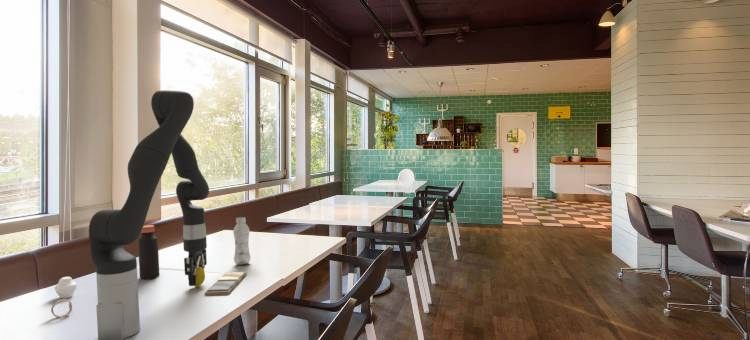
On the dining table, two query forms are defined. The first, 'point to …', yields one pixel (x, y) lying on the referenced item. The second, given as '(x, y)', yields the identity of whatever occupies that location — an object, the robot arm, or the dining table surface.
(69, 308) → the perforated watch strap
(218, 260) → the dining table surface
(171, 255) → the dining table surface
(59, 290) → the muffin
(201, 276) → the lemon
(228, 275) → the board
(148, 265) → the vinegar
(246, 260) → the plastic bottle
